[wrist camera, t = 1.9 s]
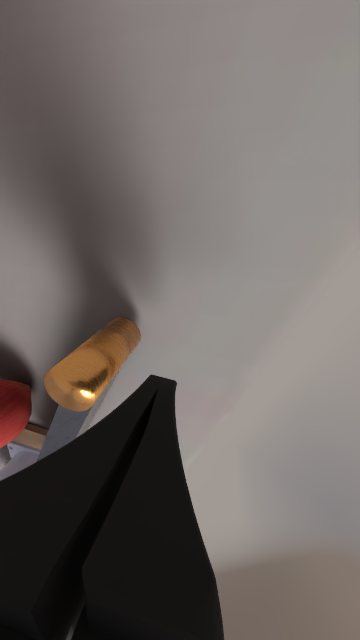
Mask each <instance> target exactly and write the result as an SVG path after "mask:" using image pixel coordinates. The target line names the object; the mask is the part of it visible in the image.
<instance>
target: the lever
mask: <svg viewBox="0 0 360 640" xmlns="http://www.w3.org/2000/svg"><path fill="white" fill-rule="evenodd" d="M140 338H141V334H140V330H139V328H138V327H137V325H136V324H135V323H134V322H133V321H131V320H129V319H127V318H123V317H118V318H115V319H113V320H112V321H110V322H109V323H108V324H107V325H105V326H104V327H103V328H102V329H100V330H99V331H98V332H97V333H95V334H94V335H93V336H92V337H90V338H89V339H88V340H87V341H85V342H84V343H83V344H82V345H80V346H79V347H78V348H76V349H75V350H74V351H73V352H71V353H70V354H69V355H68V356H66V357H65V358H64V359H63V360H61V361H60V362H59V363H58V364H56V365H55V366H54V367H53V368H51V369H50V370H49V371H48V372H47V373H46V374H45V377H44V385H45V388H46V391H47V392H48V394H49V395H50V397H51V398H52V399H53V400H54V401H55V402H56V403H58V404H59V406H58V408H57V411H56V413H55V416H54V418H53V421H52V423H51V426H50V428H49V431H48V433H47V436H46V438H45V441H44V443H43V446H42V448H41V451H40V453H39V456H38V458H37V461H39V460H40V459H42V458H44V457H46V456H47V455H49V454H51V453H53V452H55V451H56V450H58V449H60V448H61V447H63V446H64V445H66V444H68V443H69V442H71V441H72V440H74V439H75V438H77V437H78V436H80V435H81V434H83V433H84V432H86V430H87V428H88V427H89V425H90V423H91V421H92V419H93V418H94V416H95V414H96V412H97V410H98V408H99V407H100V405H101V403H102V401H103V399H104V398H105V396H106V394H107V392H108V390H109V388H110V387H111V385H112V383H113V381H114V379H115V377H116V376H117V374H118V372H119V370H120V368H121V367H122V365H123V364H124V362H125V361H126V360H127V358H128V357H129V356H130V354H131V353H132V352H133V350H134V349H135V348H136V346H137V345H138V344H139V342H140ZM37 461H36V462H37Z"/></svg>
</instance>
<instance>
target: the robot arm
mask: <svg viewBox="0 0 360 640" xmlns="http://www.w3.org/2000/svg"><path fill="white" fill-rule="evenodd" d="M176 385H177V383H176V381H174V380H170V379H167V378H163V377H159V376H155V375H150V376H149V377H148V378H147V379H146V380H145V381H144V382H143V384H142V385H141V386H140V387H139V388H138V389H137V390H136V391H135V392H134V393H133V394H131V395H130V396H129V397H128V398H127V399H126V400H125V401H124V402H123V403H122V404H121V405H119V406H118V407H117V408H116V409H115V410H113V411H112V412H111V413H110V414H109V415H107V416H106V417H105V418H103V419H102V420H101V421H100V422H98V423H97V424H96V425H94V426H93V427H91V428H90V429H89V430H87V431H86V432H84V433H83V434H81V435H80V436H78V437H77V438H75V439H74V440H72V441H71V442H69V443H68V444H66V445H64V446H63V447H61V448H60V449H58V450H56V451H55V452H53V453H51V454H49V455H47V456H46V457H44V458H42V459H40V460H39V461H37V458H38V456H39V453H40V451H41V450H40V449H37V448H34V447H30V446H27V445H24V444H21V443H18V442H15V441H11V442H10V443H8V444H7V446H8V450H9V453H10V457H11V460H10V461H9V462H8V463H7V464H6V465H5V466H4V467H3V468H2V469H1V471H0V640H224V633H223V624H222V615H221V608H220V602H219V596H218V590H217V585H216V579H215V575H214V572H213V569H212V566H211V563H210V560H209V557H208V554H207V551H206V548H205V545H204V542H203V539H202V536H201V533H200V530H199V526H198V523H197V520H196V516H195V513H194V509H193V505H192V502H191V498H190V494H189V490H188V486H187V483H186V479H185V474H184V470H183V465H182V460H181V455H180V449H179V443H178V436H177V428H176V417H175V390H176ZM36 461H37V462H36Z"/></svg>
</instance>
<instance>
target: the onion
mask: <svg viewBox="0 0 360 640" xmlns="http://www.w3.org/2000/svg"><path fill="white" fill-rule="evenodd" d="M31 411H32V402H31V388H30V386H29V385H27V384H23V383H20V382H17V381H12V380H0V448H1V447H3V446H5V445H7V444H8V443H10V442H11V441H12V440H14V439H15V438H16V437H18V435H19V434H20V433H21V432H22V431H23V430H24V428H25V427H26V425H27V423H28V421H29V418H30V416H31Z"/></svg>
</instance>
